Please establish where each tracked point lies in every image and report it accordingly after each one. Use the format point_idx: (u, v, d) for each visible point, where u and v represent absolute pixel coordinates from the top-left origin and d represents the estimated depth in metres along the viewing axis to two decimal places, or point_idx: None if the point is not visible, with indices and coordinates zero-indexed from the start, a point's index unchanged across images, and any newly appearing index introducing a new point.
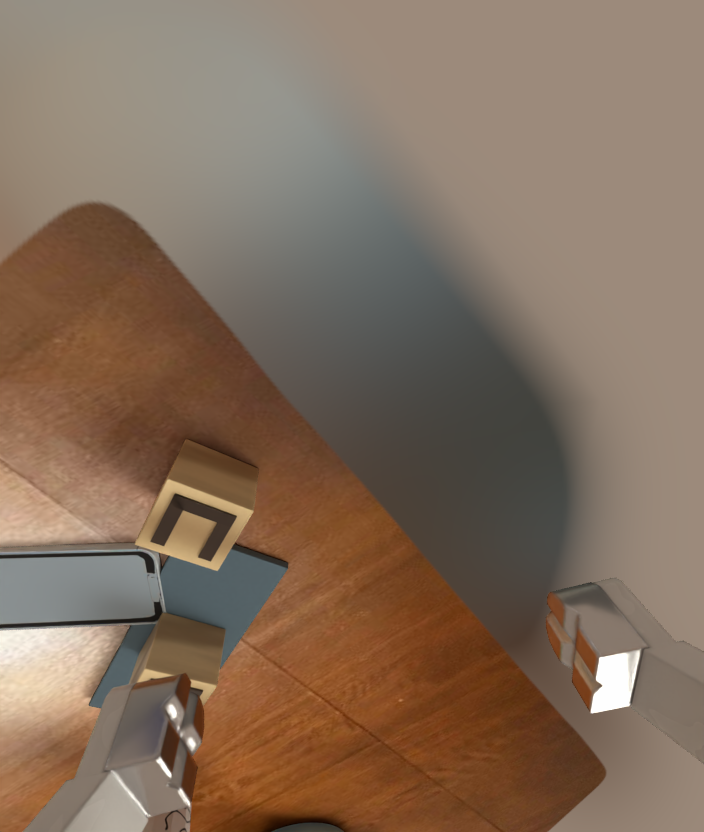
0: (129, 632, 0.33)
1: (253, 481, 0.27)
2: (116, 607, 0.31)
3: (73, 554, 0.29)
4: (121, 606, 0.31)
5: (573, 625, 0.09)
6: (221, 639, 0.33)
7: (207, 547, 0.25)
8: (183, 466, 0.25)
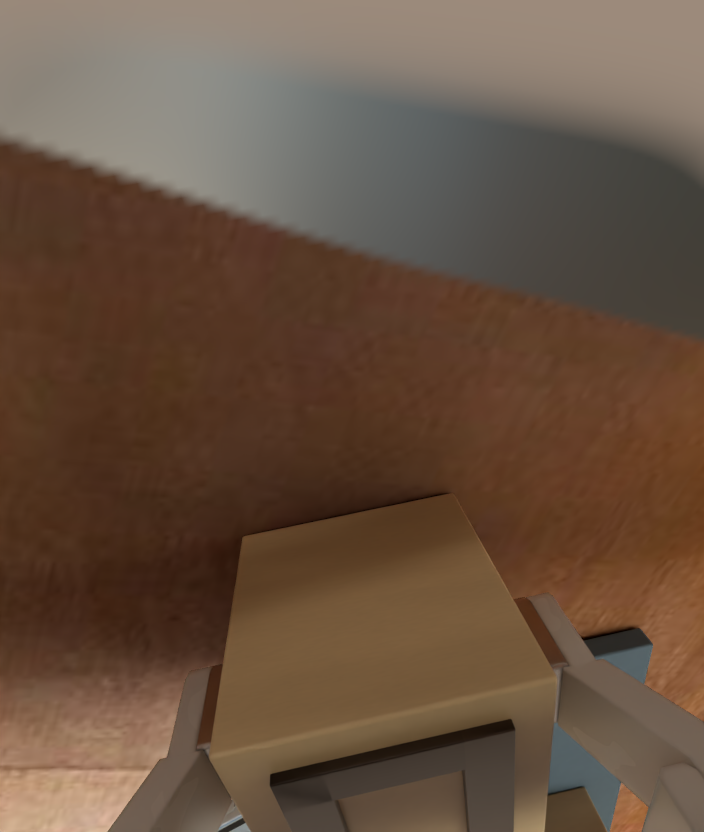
0: None
1: (468, 544, 0.09)
2: None
3: (236, 824, 0.14)
4: None
5: None
6: (594, 820, 0.15)
7: (480, 824, 0.07)
8: (253, 649, 0.07)
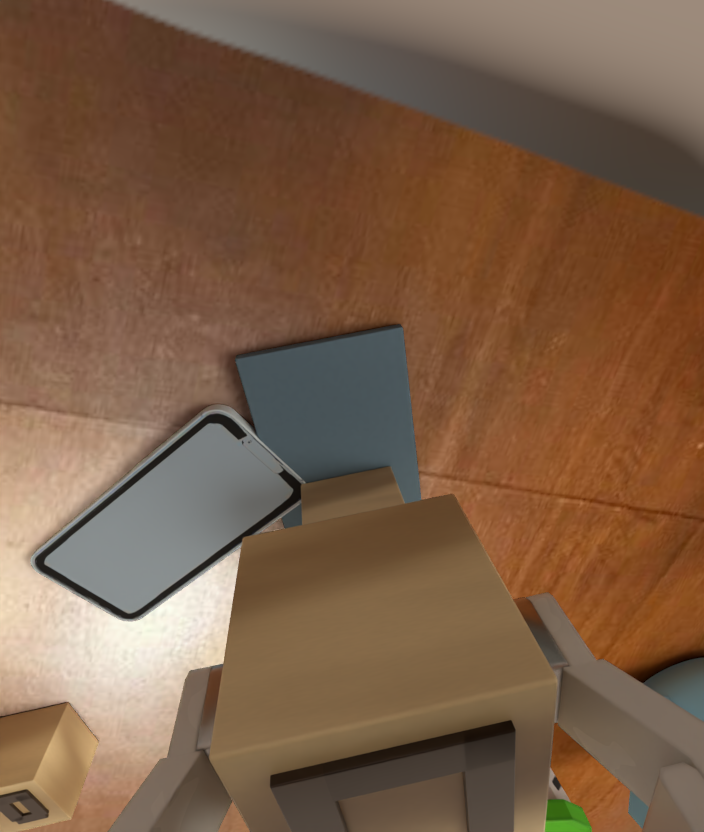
0: None
1: (468, 544, 0.09)
2: (247, 506, 0.24)
3: (148, 467, 0.22)
4: (251, 501, 0.24)
5: None
6: (389, 476, 0.23)
7: (480, 826, 0.07)
8: (253, 649, 0.07)
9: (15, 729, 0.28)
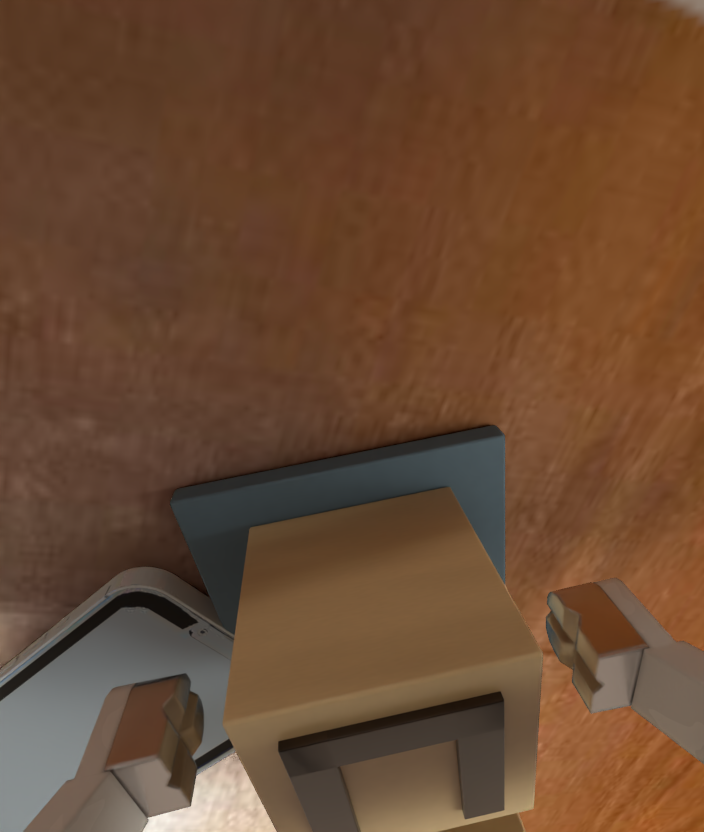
0: None
1: (463, 533, 0.09)
2: (207, 720, 0.14)
3: (17, 679, 0.12)
4: (213, 713, 0.13)
5: (573, 625, 0.09)
6: None
7: (473, 794, 0.08)
8: (262, 629, 0.08)
9: None
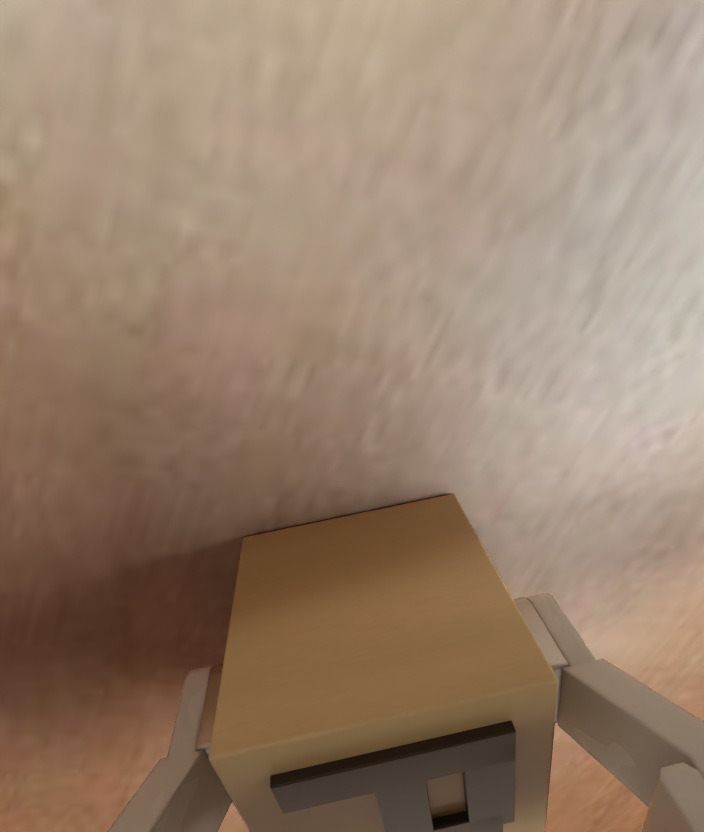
0: None
1: None
2: None
3: None
4: None
5: None
6: None
7: None
8: None
9: (334, 552, 0.09)
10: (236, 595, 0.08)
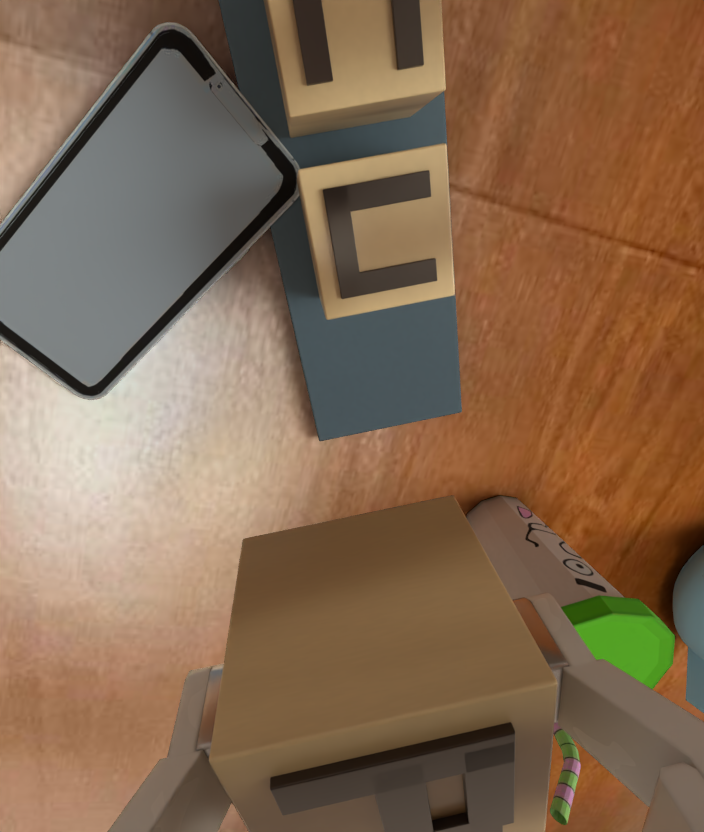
0: (279, 260, 0.19)
1: None
2: (224, 204, 0.18)
3: (88, 129, 0.17)
4: (229, 196, 0.18)
5: None
6: None
7: (401, 29, 0.13)
8: None
9: (334, 553, 0.09)
10: (237, 596, 0.08)
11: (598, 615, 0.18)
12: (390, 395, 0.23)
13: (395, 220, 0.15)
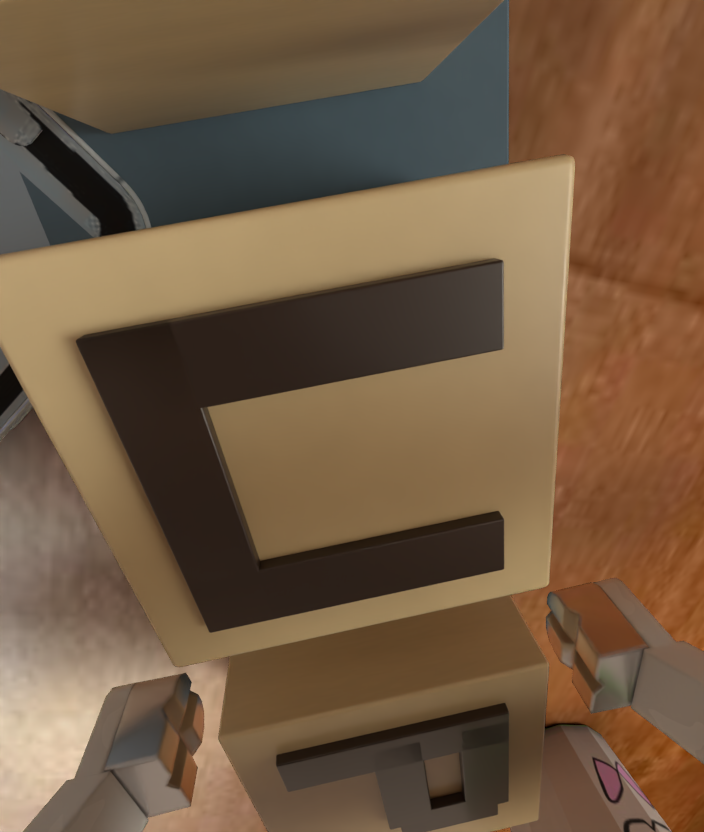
0: None
1: None
2: None
3: None
4: None
5: (573, 625, 0.09)
6: None
7: None
8: None
9: None
10: None
11: None
12: None
13: (372, 420, 0.04)
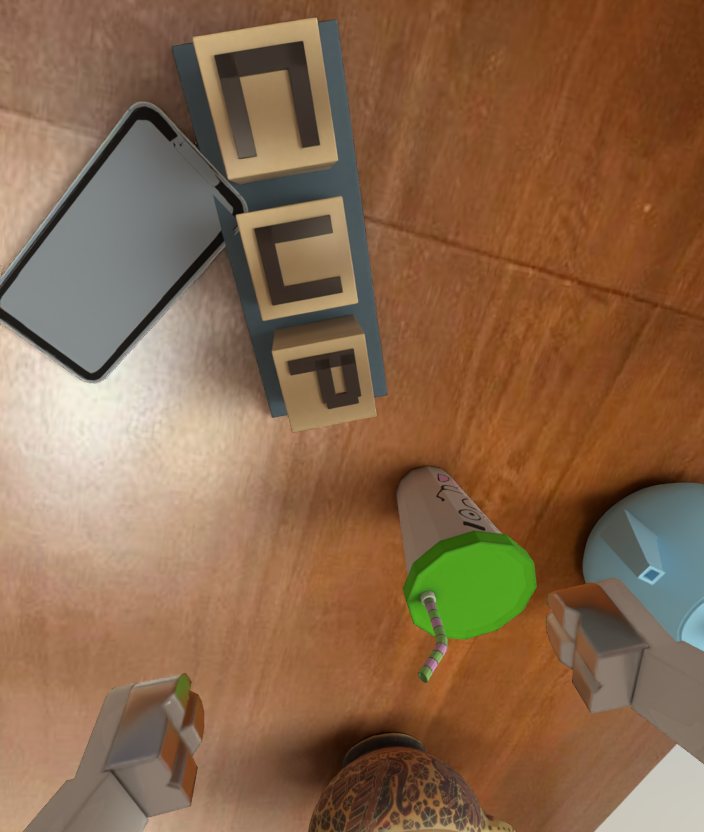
0: (234, 274, 0.25)
1: None
2: (189, 230, 0.24)
3: (85, 178, 0.22)
4: (192, 224, 0.24)
5: (573, 625, 0.09)
6: None
7: (302, 122, 0.18)
8: None
9: (308, 327, 0.26)
10: (275, 336, 0.25)
11: (469, 543, 0.24)
12: None
13: (308, 249, 0.21)
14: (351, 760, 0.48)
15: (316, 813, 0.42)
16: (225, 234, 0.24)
